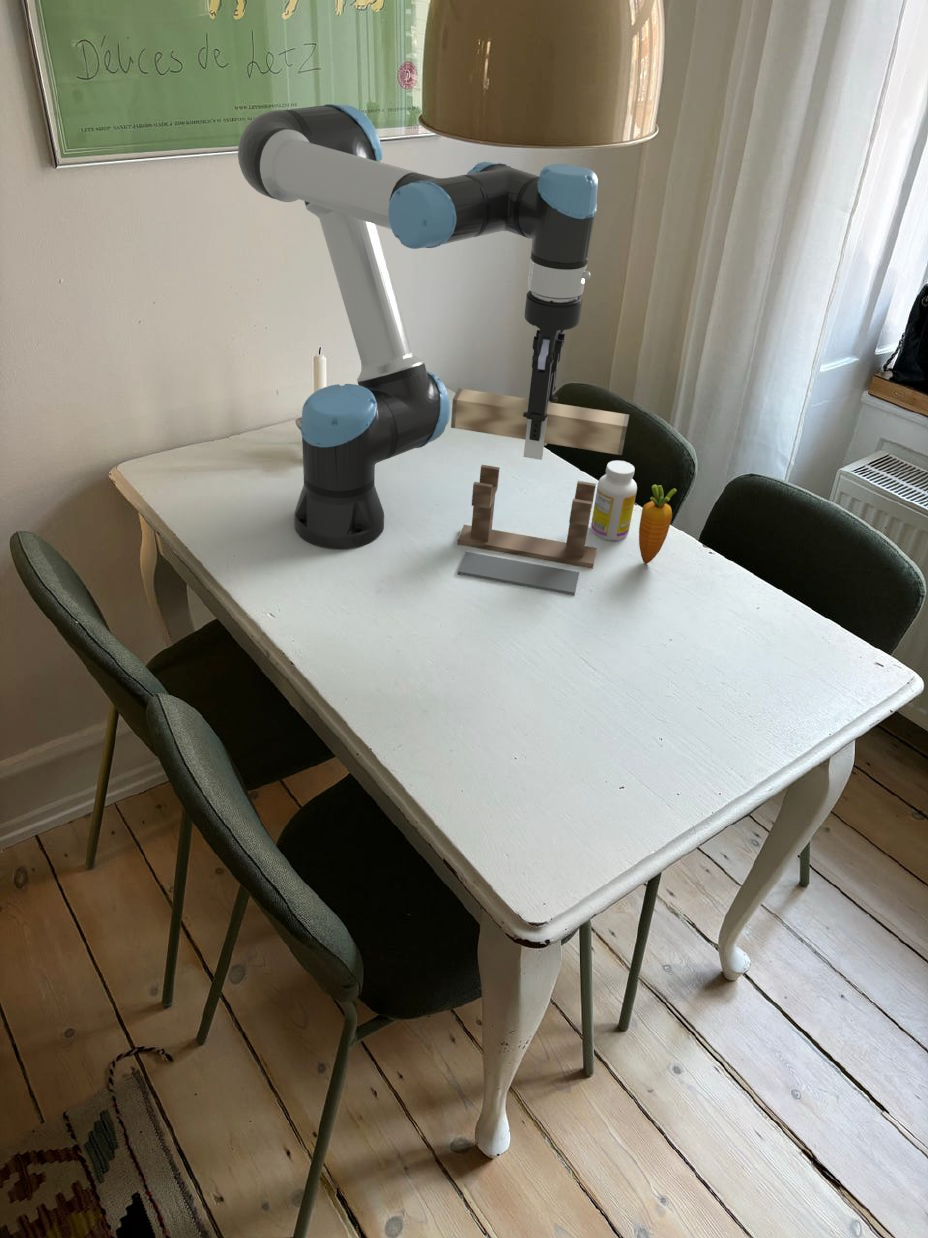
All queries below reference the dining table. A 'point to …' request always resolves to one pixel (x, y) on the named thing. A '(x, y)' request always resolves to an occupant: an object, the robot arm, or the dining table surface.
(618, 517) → the supplement bottle
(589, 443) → the rail
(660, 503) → the carrot
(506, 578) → the mat
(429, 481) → the dining table surface
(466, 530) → the rack
